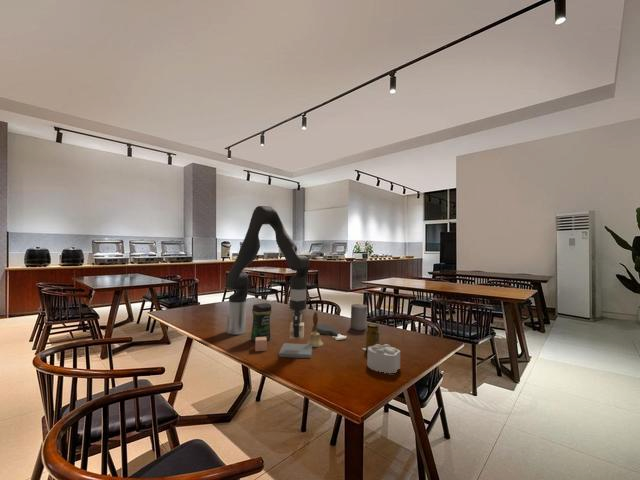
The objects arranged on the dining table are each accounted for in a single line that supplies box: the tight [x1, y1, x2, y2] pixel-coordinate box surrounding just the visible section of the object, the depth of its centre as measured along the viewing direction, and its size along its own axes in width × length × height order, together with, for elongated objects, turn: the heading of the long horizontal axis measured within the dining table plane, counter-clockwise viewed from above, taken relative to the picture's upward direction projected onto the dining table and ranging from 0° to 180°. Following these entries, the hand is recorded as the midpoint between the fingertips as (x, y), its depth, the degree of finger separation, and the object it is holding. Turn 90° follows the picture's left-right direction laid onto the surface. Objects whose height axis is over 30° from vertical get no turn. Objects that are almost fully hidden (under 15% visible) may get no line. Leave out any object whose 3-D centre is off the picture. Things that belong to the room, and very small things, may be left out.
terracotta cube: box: [254, 337, 268, 352], centre depth 145 cm, size 5×5×5 cm
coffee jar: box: [250, 302, 272, 342], centre depth 159 cm, size 10×8×19 cm
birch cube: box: [289, 321, 305, 340], centre depth 142 cm, size 6×6×6 cm
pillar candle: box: [349, 303, 368, 331], centre depth 187 cm, size 10×10×15 cm
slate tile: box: [278, 342, 313, 359], centre depth 142 cm, size 14×14×2 cm
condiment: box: [361, 323, 380, 353], centre depth 147 cm, size 7×8×12 cm
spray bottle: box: [312, 323, 348, 341], centre depth 173 cm, size 3×11×24 cm
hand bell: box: [306, 311, 324, 348], centre depth 154 cm, size 8×8×16 cm
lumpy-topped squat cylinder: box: [366, 343, 401, 375], centre depth 127 cm, size 10×13×9 cm
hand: (297, 335), depth 142 cm, fingers closed on birch cube, 6 cm apart
